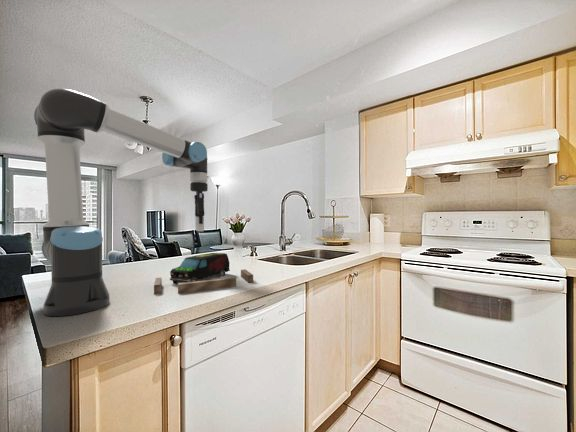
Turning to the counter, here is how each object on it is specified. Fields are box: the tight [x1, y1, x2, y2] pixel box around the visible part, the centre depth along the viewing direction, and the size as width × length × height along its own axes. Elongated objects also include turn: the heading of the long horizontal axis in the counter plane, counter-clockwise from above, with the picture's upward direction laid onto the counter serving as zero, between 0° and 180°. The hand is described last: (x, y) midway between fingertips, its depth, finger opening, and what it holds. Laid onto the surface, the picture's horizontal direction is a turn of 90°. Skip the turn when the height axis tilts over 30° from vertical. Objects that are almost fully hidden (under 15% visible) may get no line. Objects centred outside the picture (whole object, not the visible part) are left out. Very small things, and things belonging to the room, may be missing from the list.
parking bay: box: [153, 269, 254, 295], centre depth 101 cm, size 35×15×3 cm, turn 114°
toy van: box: [169, 252, 230, 284], centre depth 111 cm, size 11×25×10 cm, turn 153°
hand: (199, 230), depth 121 cm, fingers open, 10 cm apart
